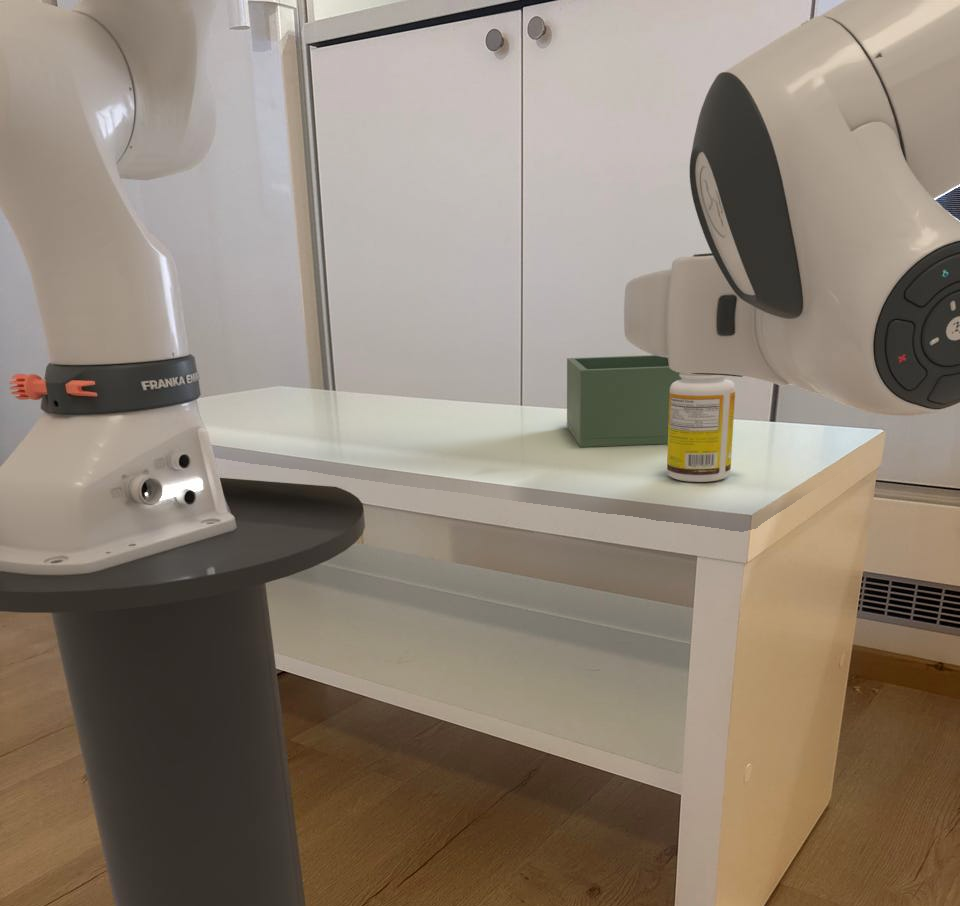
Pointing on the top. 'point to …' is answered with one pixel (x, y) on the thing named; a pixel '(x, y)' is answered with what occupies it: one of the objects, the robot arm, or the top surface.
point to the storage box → (619, 400)
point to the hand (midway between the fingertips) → (751, 300)
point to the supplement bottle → (700, 427)
